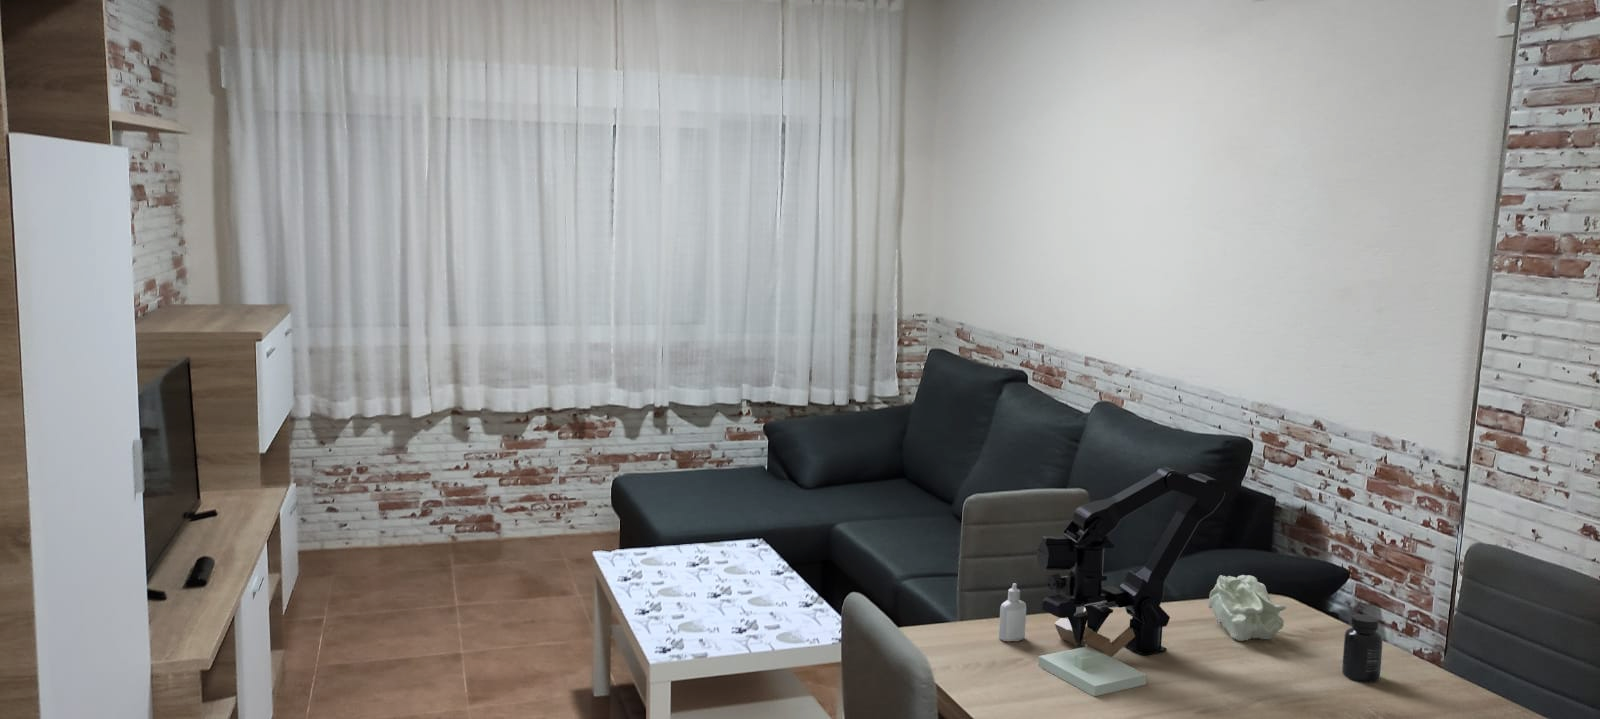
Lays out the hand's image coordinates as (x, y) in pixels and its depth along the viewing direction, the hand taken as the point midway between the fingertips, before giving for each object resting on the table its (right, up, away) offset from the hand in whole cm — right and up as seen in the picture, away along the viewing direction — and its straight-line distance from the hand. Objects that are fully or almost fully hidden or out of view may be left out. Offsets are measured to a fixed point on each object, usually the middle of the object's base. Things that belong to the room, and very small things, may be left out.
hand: (1083, 641), depth 238 cm
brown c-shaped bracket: (+3, 0, +3) cm, 4 cm away
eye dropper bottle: (-14, -1, +7) cm, 15 cm away
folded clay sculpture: (+38, -2, +14) cm, 41 cm away
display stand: (-2, -4, -12) cm, 13 cm away
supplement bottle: (+53, -5, -9) cm, 53 cm away
